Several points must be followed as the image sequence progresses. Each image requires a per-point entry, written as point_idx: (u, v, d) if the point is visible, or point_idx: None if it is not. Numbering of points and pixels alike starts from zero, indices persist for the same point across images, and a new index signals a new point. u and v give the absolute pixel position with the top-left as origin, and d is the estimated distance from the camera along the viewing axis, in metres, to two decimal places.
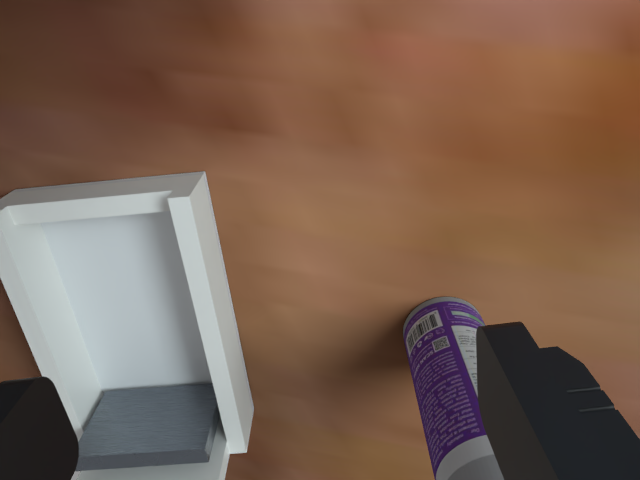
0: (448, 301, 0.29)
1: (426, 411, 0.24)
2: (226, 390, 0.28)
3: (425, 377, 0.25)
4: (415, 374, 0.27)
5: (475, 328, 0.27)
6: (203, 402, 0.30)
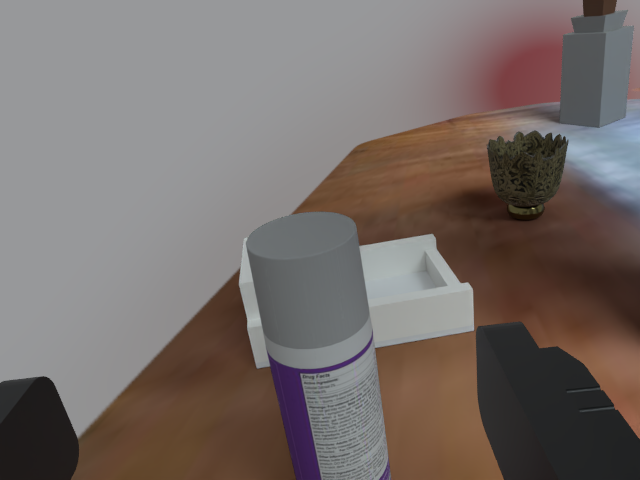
0: None
1: None
2: None
3: None
4: None
5: (385, 468, 0.25)
6: None
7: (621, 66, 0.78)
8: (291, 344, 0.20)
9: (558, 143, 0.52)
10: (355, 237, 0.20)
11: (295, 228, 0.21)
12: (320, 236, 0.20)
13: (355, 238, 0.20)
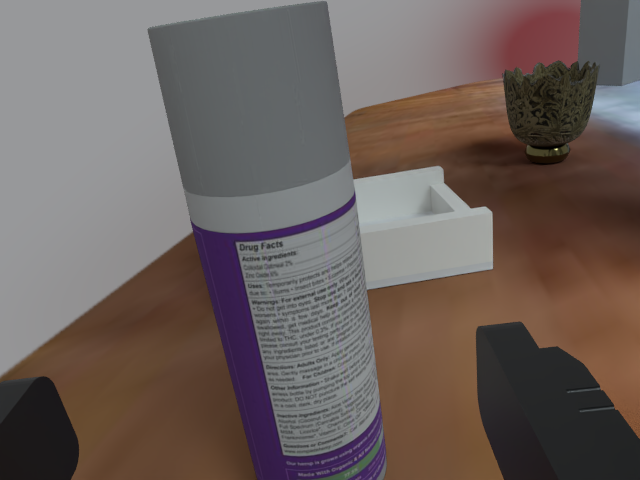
0: None
1: None
2: None
3: None
4: None
5: (375, 415, 0.17)
6: None
7: None
8: (219, 188, 0.12)
9: (586, 72, 0.44)
10: (324, 12, 0.12)
11: None
12: None
13: (324, 13, 0.12)
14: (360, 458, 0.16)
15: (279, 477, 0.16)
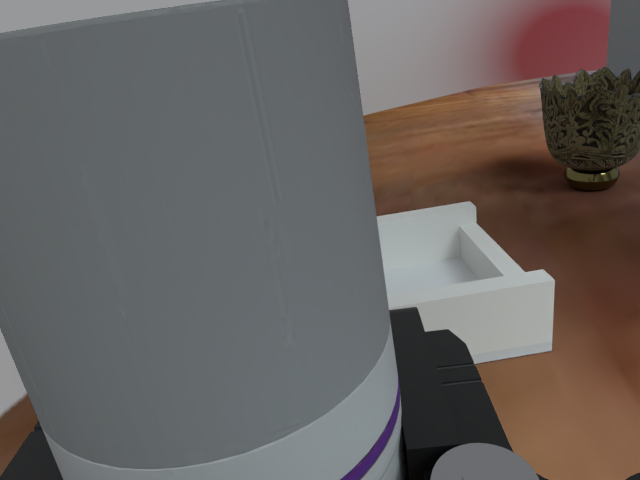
0: None
1: None
2: None
3: None
4: None
5: None
6: None
7: None
8: (86, 446, 0.05)
9: None
10: (342, 15, 0.05)
11: None
12: None
13: (342, 19, 0.05)
14: None
15: None
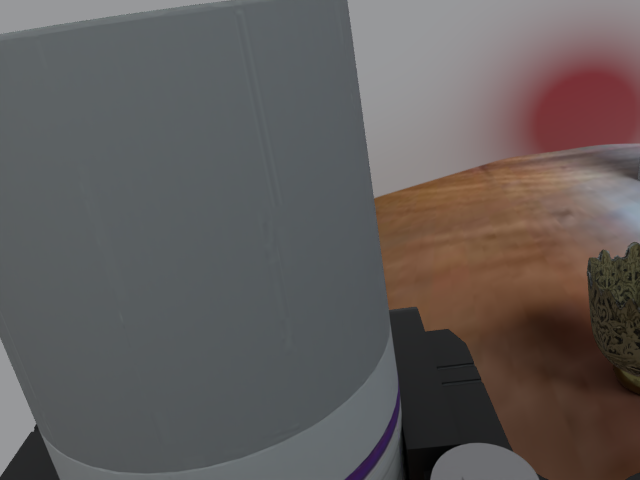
0: None
1: None
2: None
3: None
4: None
5: None
6: None
7: None
8: (83, 449, 0.05)
9: None
10: (342, 16, 0.05)
11: None
12: None
13: (342, 20, 0.05)
14: None
15: None
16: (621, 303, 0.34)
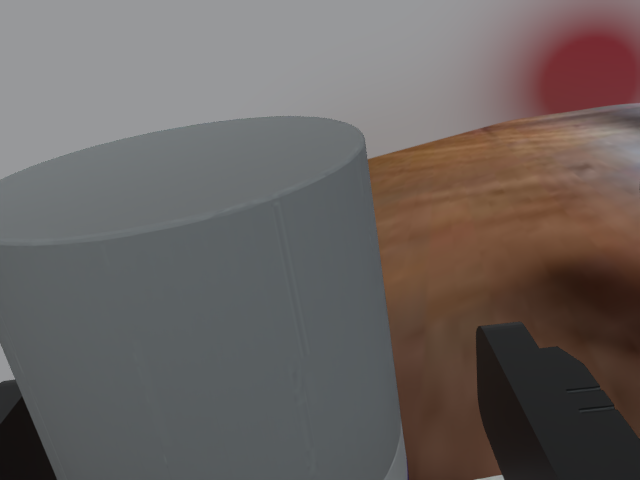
0: None
1: None
2: None
3: None
4: None
5: None
6: None
7: None
8: None
9: None
10: (362, 170, 0.05)
11: (165, 151, 0.06)
12: (229, 165, 0.05)
13: (362, 173, 0.05)
14: None
15: None
16: None
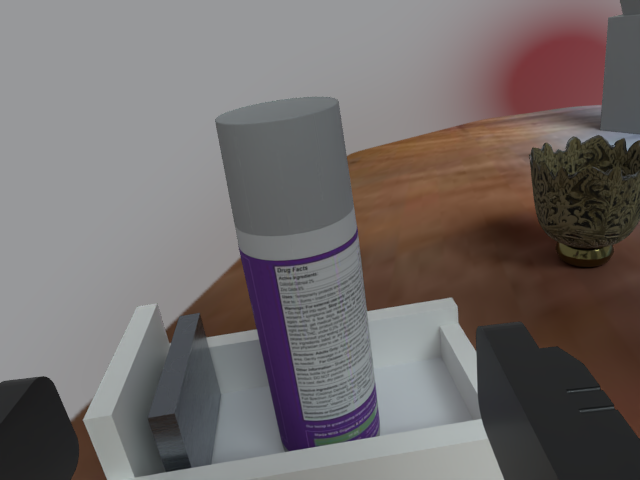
0: None
1: None
2: (231, 474, 0.19)
3: None
4: None
5: (371, 392, 0.22)
6: (198, 465, 0.21)
7: None
8: (264, 230, 0.18)
9: (637, 154, 0.35)
10: (337, 110, 0.18)
11: (272, 107, 0.19)
12: (297, 108, 0.18)
13: (337, 111, 0.18)
14: (360, 423, 0.22)
15: (300, 437, 0.22)
16: None
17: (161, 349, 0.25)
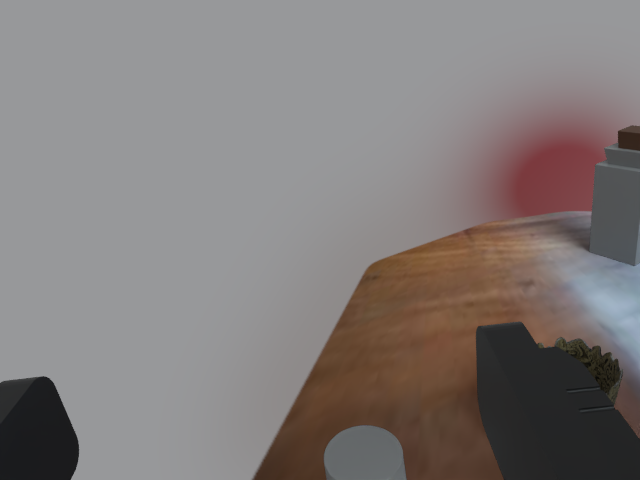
0: None
1: None
2: None
3: None
4: None
5: None
6: None
7: None
8: None
9: (608, 362, 0.45)
10: (402, 461, 0.29)
11: (358, 447, 0.30)
12: (377, 461, 0.29)
13: (402, 462, 0.29)
14: None
15: None
16: None
17: None
